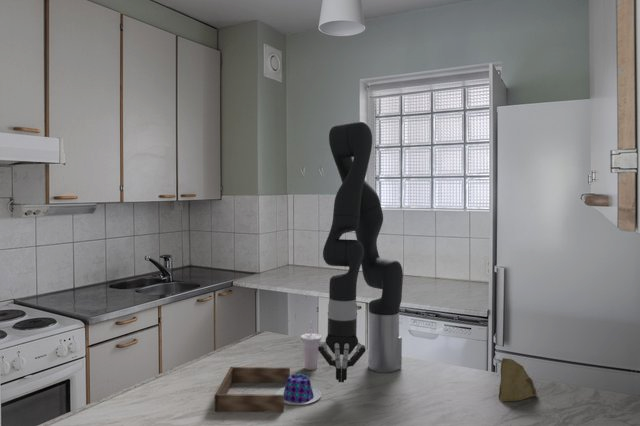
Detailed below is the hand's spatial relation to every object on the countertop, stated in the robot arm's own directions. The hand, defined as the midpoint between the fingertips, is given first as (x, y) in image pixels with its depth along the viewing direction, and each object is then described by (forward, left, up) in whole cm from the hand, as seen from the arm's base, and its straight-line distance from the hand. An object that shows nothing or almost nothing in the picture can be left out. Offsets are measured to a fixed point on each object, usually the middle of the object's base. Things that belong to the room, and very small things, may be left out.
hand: (341, 381), depth 125 cm
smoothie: (+1, -22, -4) cm, 22 cm away
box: (+21, -8, -4) cm, 23 cm away
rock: (-44, +15, -4) cm, 47 cm away
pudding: (+11, -4, -5) cm, 12 cm away
